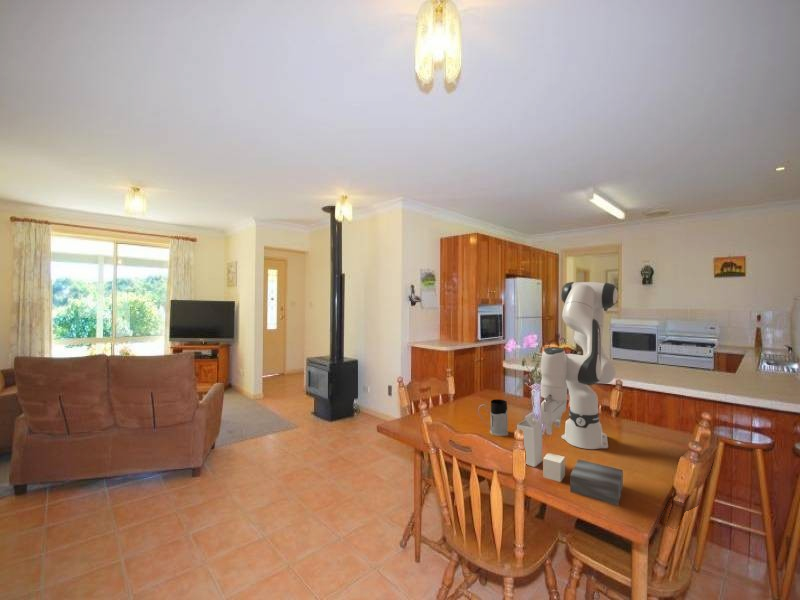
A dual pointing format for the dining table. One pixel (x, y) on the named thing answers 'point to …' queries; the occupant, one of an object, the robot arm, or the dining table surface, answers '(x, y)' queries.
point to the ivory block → (554, 467)
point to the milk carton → (532, 439)
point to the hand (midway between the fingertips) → (553, 430)
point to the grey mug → (498, 418)
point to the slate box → (597, 481)
